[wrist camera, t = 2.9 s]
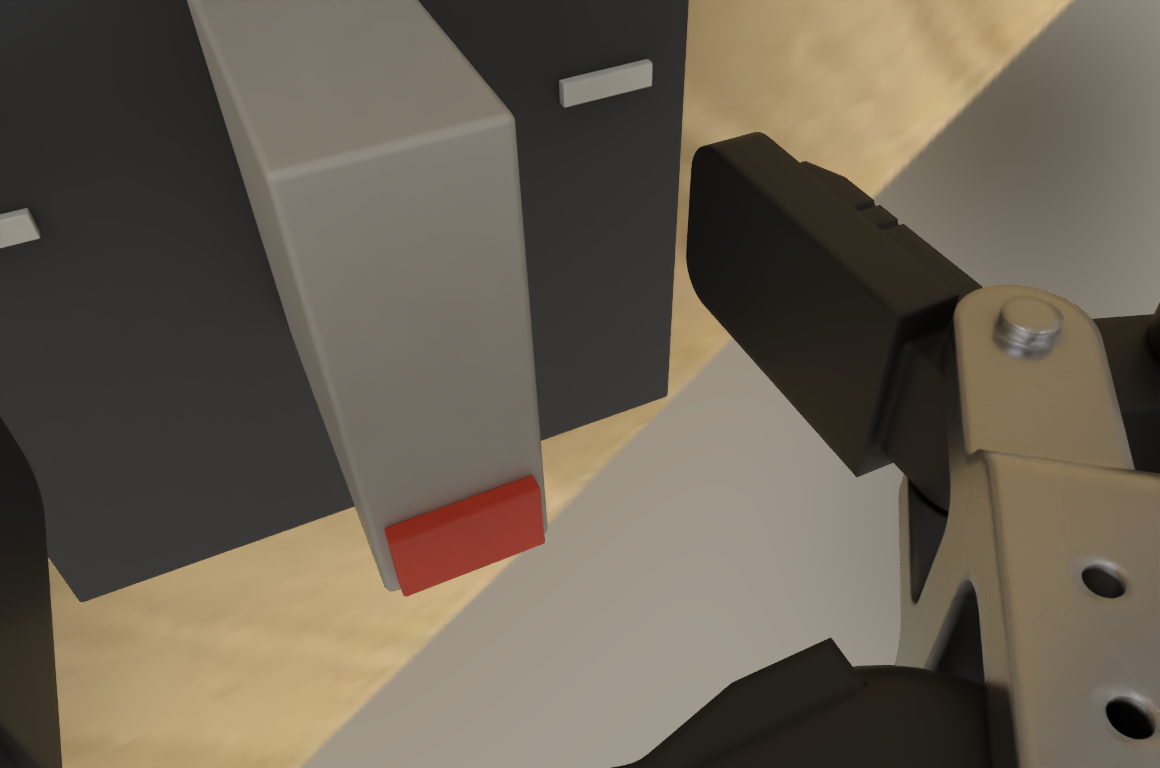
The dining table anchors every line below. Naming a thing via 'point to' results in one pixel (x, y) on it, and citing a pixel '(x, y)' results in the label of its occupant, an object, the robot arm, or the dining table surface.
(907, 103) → the dining table surface
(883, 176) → the dining table surface
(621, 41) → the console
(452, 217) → the grey block
